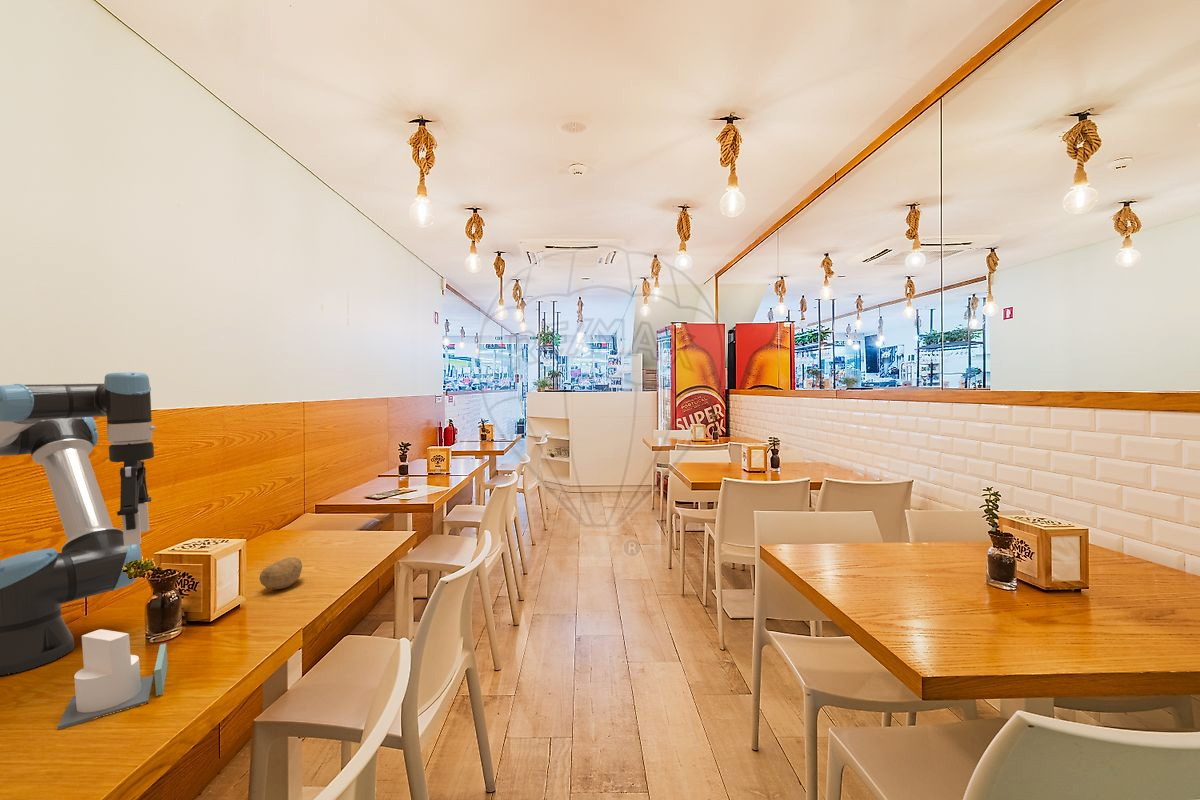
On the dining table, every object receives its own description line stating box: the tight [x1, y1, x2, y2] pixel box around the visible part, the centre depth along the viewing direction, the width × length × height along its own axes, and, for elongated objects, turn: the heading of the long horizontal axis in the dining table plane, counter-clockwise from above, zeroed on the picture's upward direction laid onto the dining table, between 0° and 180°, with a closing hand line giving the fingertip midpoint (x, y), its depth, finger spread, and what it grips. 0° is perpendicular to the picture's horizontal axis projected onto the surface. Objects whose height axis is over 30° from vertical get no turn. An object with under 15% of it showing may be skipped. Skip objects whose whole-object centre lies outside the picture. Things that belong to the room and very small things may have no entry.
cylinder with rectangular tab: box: [73, 628, 141, 713], centre depth 102 cm, size 9×9×12 cm
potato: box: [259, 557, 303, 590], centre depth 162 cm, size 10×14×8 cm
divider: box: [153, 643, 169, 697], centre depth 109 cm, size 1×14×5 cm, turn 35°
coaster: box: [57, 674, 155, 730], centre depth 102 cm, size 12×12×1 cm
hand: (137, 537), depth 121 cm, fingers open, 13 cm apart
